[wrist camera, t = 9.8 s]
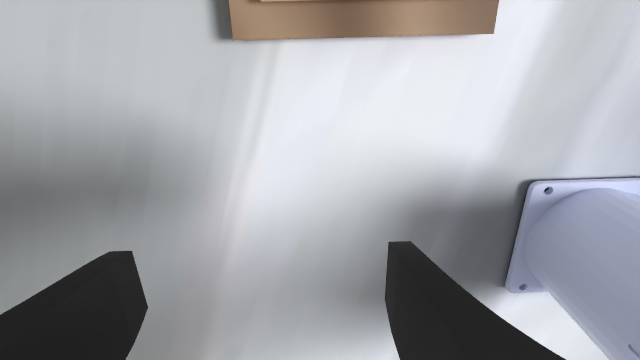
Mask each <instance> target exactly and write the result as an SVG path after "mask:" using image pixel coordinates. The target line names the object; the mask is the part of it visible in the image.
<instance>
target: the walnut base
mask: <svg viewBox="0 0 640 360" xmlns="http://www.w3.org/2000/svg"><path fill="white" fill-rule="evenodd" d="M498 3H499V0H229V9H230V18H231V27H232V36H233V40H264V39H303V38H343V37H382V36H422V35H462V34H494V28H495V22H496V16H497V9H498Z"/></svg>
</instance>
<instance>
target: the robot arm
mask: <svg viewBox="0 0 640 360" xmlns="http://www.w3.org/2000/svg"><path fill="white" fill-rule="evenodd" d="M547 187H549V189H548V190H547V191H546V192H544V190H545V189H546V188H547ZM522 284H523V285H522ZM520 285H522V286H520ZM505 287H506V288H507V290H508V291H509V292H511V293H527V292H549V293H550V294H551V296H552V297H553V298H554V299H555V300H556V301H557V302H558V303H559V304H560V305H561V307H562V308H563V309H564V310H565V311H566V312H567V313H568V314H569V315H570V317H571V318H572V319H573V320H574V321H575V322H576V323H577V324H578V325H579V327H580V328H581V329H582V330H583V331H584V332H585V333H586V334H587V335H588V336H589V338H590V339H591V340H592V341H593V342H594V343H595V344H596V345H597V346H598V348H599V349H600V350H601V351H602V352H603V353H604V354H605V355H606V356H607V358H608V359H609V360H640V178H612V179H581V180H550V181H535V182H533V183H532V184H531V185H530V186H529V188H528V191H527V195H526V199H525V204H524V208H523V212H522V216H521V220H520V225H519V229H518V233H517V237H516V242H515V246H514V250H513V254H512V258H511V263H510V267H509V271H508V275H507V279H506V284H505ZM385 302H386V307H387V312H388V318H389V322H390V327H391V332H392V335H393V339H394V342H395V345H396V348H397V351H398V354H399V357H400V360H566V359H564V358H562V357H560V356H559V355H557V354H555V353H554V352H552V351H551V350H549V349H547V348H546V347H544V346H542V345H541V344H539V343H538V342H536V341H535V340H533V339H532V338H530V337H529V336H527V335H526V334H524V333H523V332H521V331H520V330H518V329H517V328H515V327H514V326H512V325H511V324H509V323H508V322H506V321H505V320H504V319H502V318H501V317H499V316H498V315H497V314H495V313H494V312H493V311H491V310H490V309H489V308H487V307H486V306H485V305H483V304H482V303H481V302H480V301H478V300H477V299H476V298H474V297H473V296H472V295H471V294H469V293H468V292H467V291H466V290H464V289H463V288H462V287H461V286H460V285H458V284H457V283H456V282H455V281H454V280H453V279H451V278H450V277H449V276H448V275H447V274H446V273H445V272H443V271H442V270H441V269H440V268H439V267H438V266H437V265H436V264H435V263H433V262H432V261H431V260H430V259H429V258H428V257H427V256H426V255H425V254H424V253H423V252H422V251H420V250H419V249H418V248H417V247H416V246H415V245H414V244H413V243H412V242H410V241H403V242H389V245H388V260H387V275H386V290H385ZM147 309H148V306H147V303H146V299H145V295H144V292H143V288H142V285H141V281H140V278H139V274H138V271H137V267H136V264H135V260H134V257H133V253H132V251H113V252H108V253H106V254H104V255H102V256H100V257H98V258H96V259H95V260H93V261H91V262H89V263H88V264H86V265H84V266H82V267H81V268H79V269H77V270H76V271H74V272H72V273H71V274H69V275H67V276H66V277H64V278H62V279H61V280H59V281H57V282H56V283H54V284H52V285H51V286H49V287H47V288H46V289H44V290H42V291H41V292H39V293H37V294H36V295H34V296H32V297H31V298H29V299H27V300H26V301H24V302H22V303H20V304H19V305H17V306H15V307H13V308H11V309H10V310H8V311H6V312H4V313H3V314H1V315H0V360H125V359H126V357H127V356H128V354H129V352H130V350H131V348H132V346H133V344H134V342H135V340H136V337H137V335H138V333H139V330H140V328H141V325H142V322H143V320H144V317H145V314H146V312H147Z"/></svg>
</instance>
